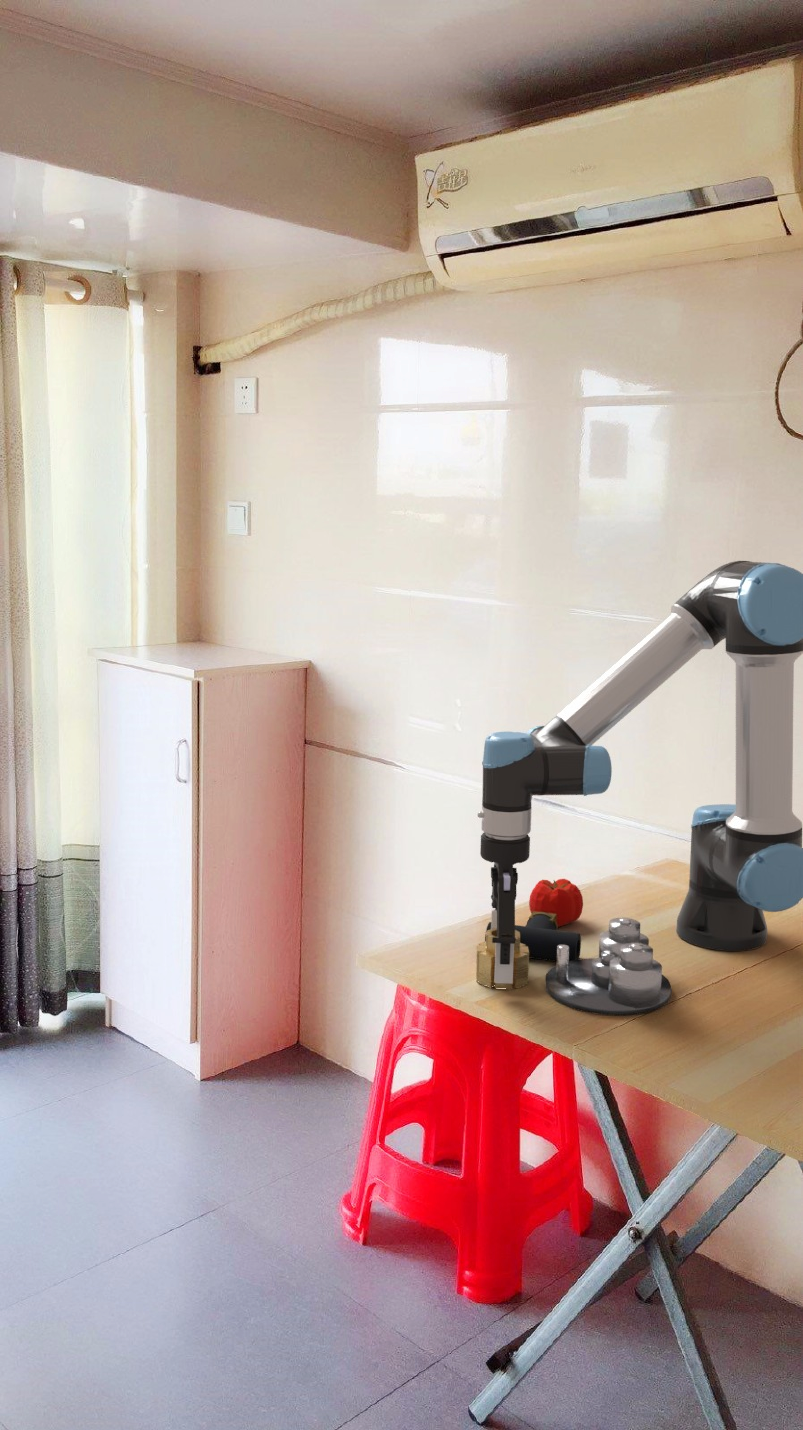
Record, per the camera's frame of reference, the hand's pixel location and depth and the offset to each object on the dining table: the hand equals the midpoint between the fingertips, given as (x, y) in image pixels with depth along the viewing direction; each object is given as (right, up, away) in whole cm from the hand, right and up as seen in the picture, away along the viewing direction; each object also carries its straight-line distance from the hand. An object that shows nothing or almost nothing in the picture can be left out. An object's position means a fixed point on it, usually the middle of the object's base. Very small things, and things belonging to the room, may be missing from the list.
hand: (501, 965), depth 181 cm
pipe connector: (+7, -1, +14) cm, 15 cm away
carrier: (+16, -3, -3) cm, 17 cm away
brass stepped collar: (0, -2, 0) cm, 2 cm away
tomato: (+12, +2, +26) cm, 28 cm away
